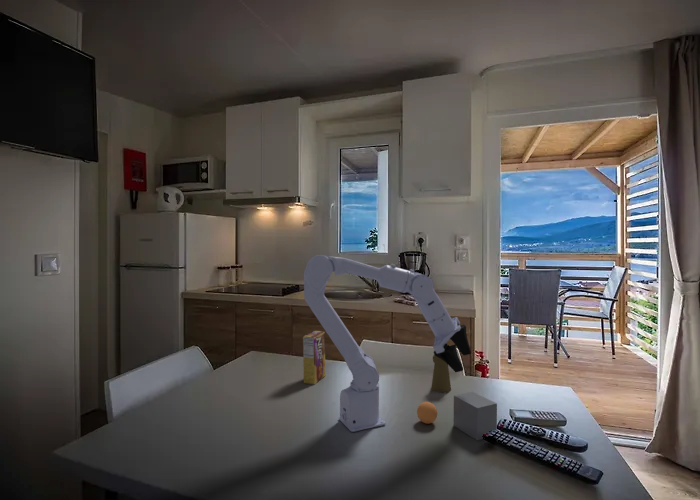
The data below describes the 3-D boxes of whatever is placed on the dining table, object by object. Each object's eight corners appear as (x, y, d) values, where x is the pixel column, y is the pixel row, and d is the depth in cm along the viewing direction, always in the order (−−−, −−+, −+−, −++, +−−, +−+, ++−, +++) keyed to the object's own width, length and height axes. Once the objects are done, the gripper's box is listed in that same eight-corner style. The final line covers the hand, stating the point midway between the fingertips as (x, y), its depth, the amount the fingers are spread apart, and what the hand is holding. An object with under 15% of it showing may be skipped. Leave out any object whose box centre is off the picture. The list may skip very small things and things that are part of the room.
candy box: (314, 374, 131) (314, 330, 131) (325, 376, 129) (326, 331, 129) (302, 383, 122) (302, 335, 122) (314, 384, 121) (314, 337, 121)
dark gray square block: (477, 440, 86) (477, 408, 86) (453, 425, 94) (453, 395, 94) (496, 435, 89) (496, 403, 89) (472, 420, 96) (472, 391, 96)
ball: (424, 428, 92) (425, 408, 92) (412, 420, 96) (413, 400, 96) (441, 424, 94) (441, 404, 94) (429, 416, 99) (429, 397, 98)
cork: (428, 390, 117) (429, 354, 117) (434, 383, 122) (434, 349, 122) (448, 393, 114) (448, 357, 114) (453, 387, 120) (453, 352, 119)
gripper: (441, 325, 88) (470, 375, 88) (458, 299, 99) (484, 343, 100) (416, 333, 92) (444, 381, 92) (436, 307, 104) (460, 349, 104)
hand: (463, 362), depth 96 cm, fingers open, 7 cm apart
